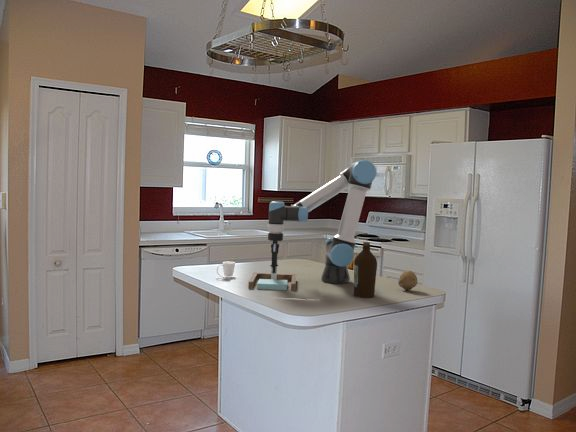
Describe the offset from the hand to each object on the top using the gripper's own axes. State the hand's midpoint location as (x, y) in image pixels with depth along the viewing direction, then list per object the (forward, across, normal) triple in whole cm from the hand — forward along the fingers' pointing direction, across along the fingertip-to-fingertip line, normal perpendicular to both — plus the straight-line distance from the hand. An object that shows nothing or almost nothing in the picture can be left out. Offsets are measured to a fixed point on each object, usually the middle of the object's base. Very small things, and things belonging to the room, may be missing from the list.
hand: (273, 279), depth 259 cm
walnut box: (+3, +5, 0) cm, 5 cm away
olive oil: (+3, +18, +43) cm, 47 cm away
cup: (+3, -12, -26) cm, 29 cm away
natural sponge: (+3, +1, +67) cm, 67 cm away
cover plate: (+2, +11, 0) cm, 11 cm away
